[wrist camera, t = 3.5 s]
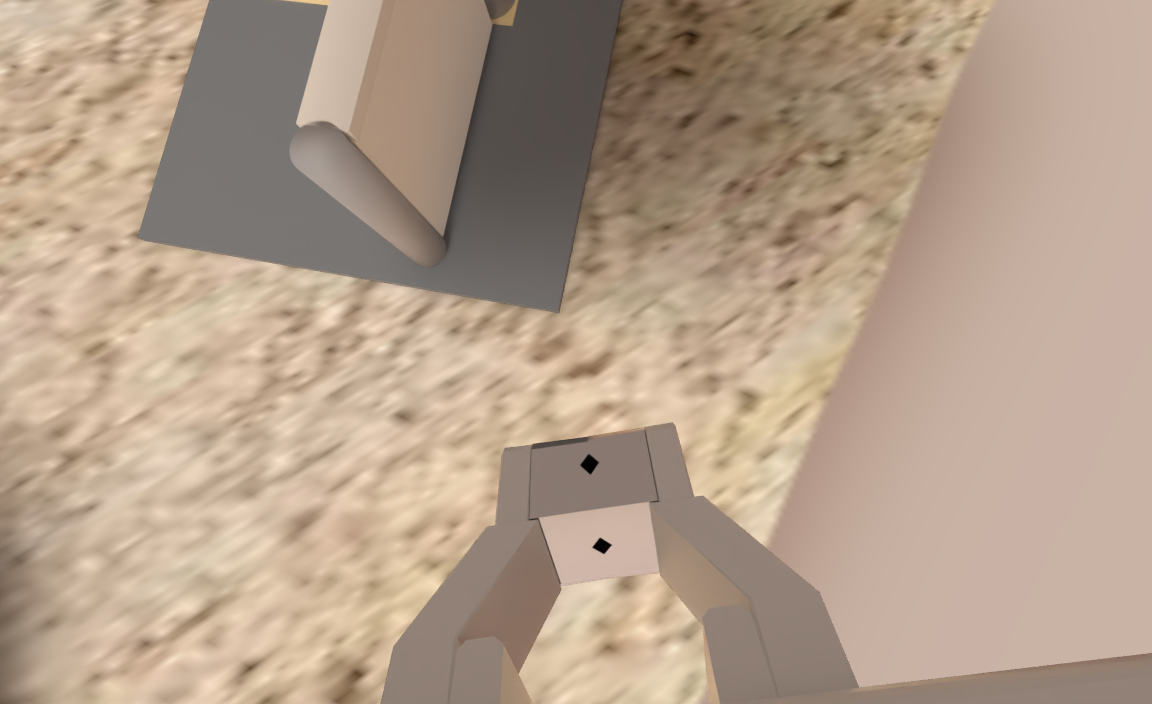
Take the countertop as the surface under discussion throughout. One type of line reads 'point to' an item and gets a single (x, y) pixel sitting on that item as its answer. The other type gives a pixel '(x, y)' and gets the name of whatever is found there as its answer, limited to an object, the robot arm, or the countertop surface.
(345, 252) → the mat
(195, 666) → the countertop surface
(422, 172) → the beige rectangular panel
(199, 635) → the countertop surface
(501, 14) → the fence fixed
